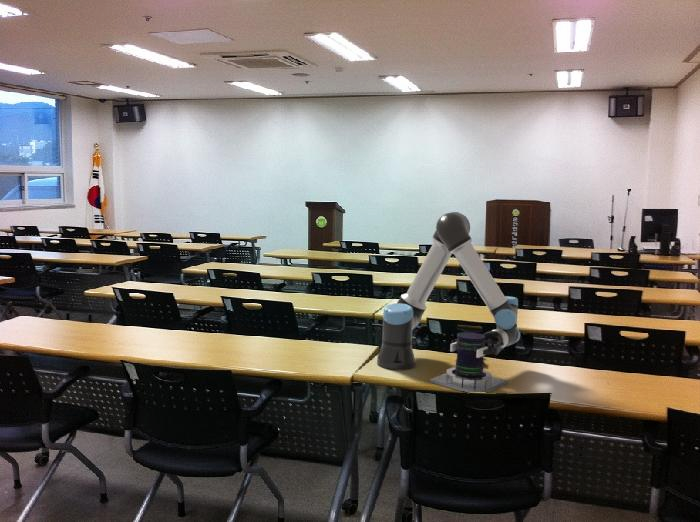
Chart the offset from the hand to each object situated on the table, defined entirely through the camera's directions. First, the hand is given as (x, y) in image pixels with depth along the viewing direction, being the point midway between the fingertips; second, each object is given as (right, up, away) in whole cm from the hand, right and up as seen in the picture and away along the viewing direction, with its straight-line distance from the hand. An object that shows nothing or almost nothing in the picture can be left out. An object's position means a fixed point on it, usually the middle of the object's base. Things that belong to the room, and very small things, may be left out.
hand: (464, 350), depth 201 cm
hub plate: (+2, -12, +5) cm, 13 cm away
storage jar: (+3, -10, +4) cm, 11 cm away
